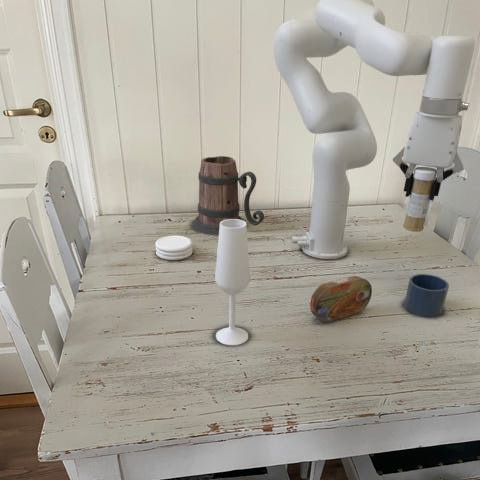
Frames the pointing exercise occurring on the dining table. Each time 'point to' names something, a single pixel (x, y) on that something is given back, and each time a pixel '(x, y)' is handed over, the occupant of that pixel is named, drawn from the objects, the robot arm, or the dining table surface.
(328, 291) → the tin
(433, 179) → the sprinkles bottle
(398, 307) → the dining table surface
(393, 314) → the dining table surface
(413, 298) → the cup
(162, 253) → the white round stack
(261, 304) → the dining table surface
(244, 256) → the champagne flute
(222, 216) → the tankard
